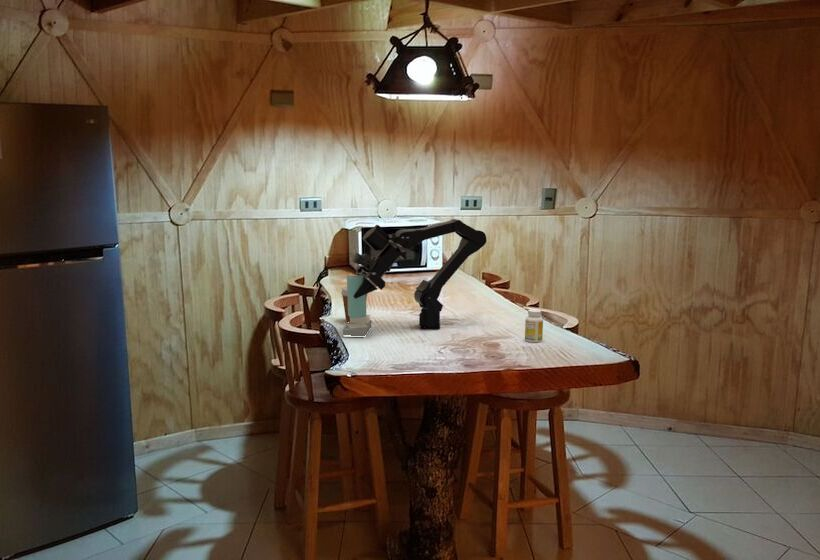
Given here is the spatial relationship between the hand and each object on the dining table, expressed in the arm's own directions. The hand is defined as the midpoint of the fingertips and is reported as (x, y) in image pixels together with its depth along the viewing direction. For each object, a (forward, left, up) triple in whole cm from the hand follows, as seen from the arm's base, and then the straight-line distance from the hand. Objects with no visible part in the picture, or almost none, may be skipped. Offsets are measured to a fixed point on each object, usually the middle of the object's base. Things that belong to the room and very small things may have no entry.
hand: (352, 296), depth 202 cm
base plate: (-1, -2, -12) cm, 13 cm away
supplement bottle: (-58, +4, -13) cm, 59 cm away
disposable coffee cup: (+2, -17, -13) cm, 21 cm away
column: (-1, -1, -7) cm, 7 cm away
